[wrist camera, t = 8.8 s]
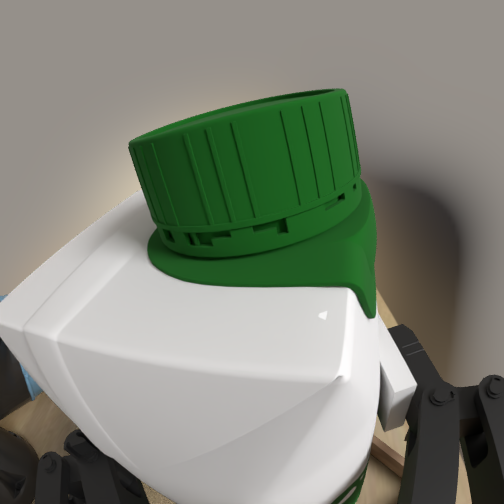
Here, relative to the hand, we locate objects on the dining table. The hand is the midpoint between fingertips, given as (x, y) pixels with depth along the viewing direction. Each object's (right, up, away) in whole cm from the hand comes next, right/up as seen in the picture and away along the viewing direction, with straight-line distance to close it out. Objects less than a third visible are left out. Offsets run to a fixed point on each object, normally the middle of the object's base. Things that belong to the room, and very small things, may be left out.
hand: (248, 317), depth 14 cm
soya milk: (+3, -12, +1) cm, 12 cm away
